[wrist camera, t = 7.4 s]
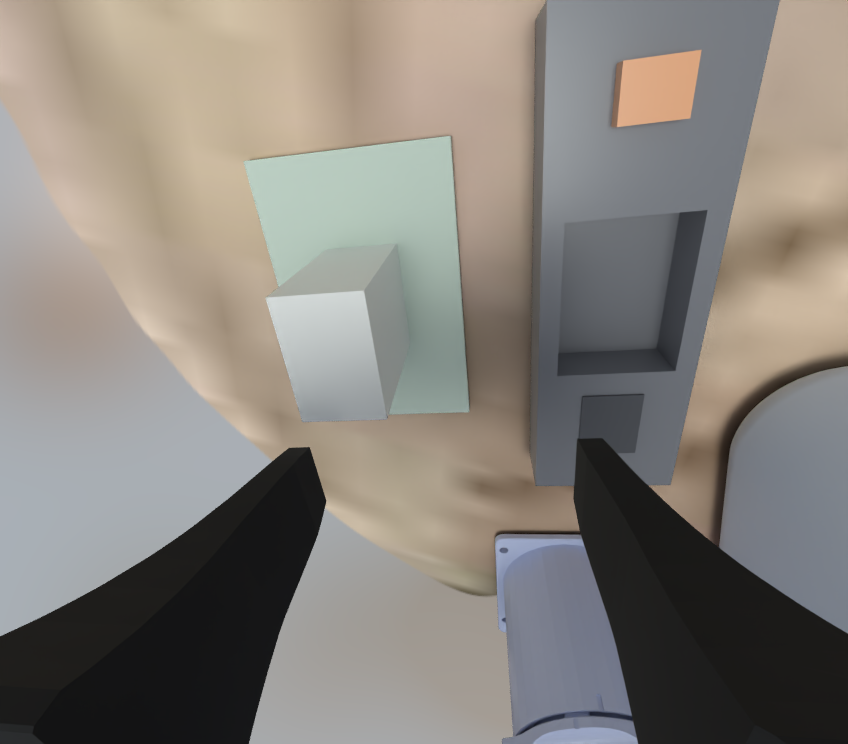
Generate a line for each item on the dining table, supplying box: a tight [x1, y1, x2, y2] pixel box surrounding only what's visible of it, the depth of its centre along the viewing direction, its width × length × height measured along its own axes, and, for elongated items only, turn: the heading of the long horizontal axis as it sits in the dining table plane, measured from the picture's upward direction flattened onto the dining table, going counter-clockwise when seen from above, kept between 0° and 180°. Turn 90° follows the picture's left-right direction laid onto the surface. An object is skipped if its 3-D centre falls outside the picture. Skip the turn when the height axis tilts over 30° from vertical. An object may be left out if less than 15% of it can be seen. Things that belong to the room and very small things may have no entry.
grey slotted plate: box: [530, 0, 780, 486], centre depth 16 cm, size 18×6×3 cm, turn 6°
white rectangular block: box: [266, 243, 410, 422], centre depth 16 cm, size 4×3×6 cm, turn 6°
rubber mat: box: [244, 136, 469, 415], centre depth 19 cm, size 12×8×1 cm, turn 6°
